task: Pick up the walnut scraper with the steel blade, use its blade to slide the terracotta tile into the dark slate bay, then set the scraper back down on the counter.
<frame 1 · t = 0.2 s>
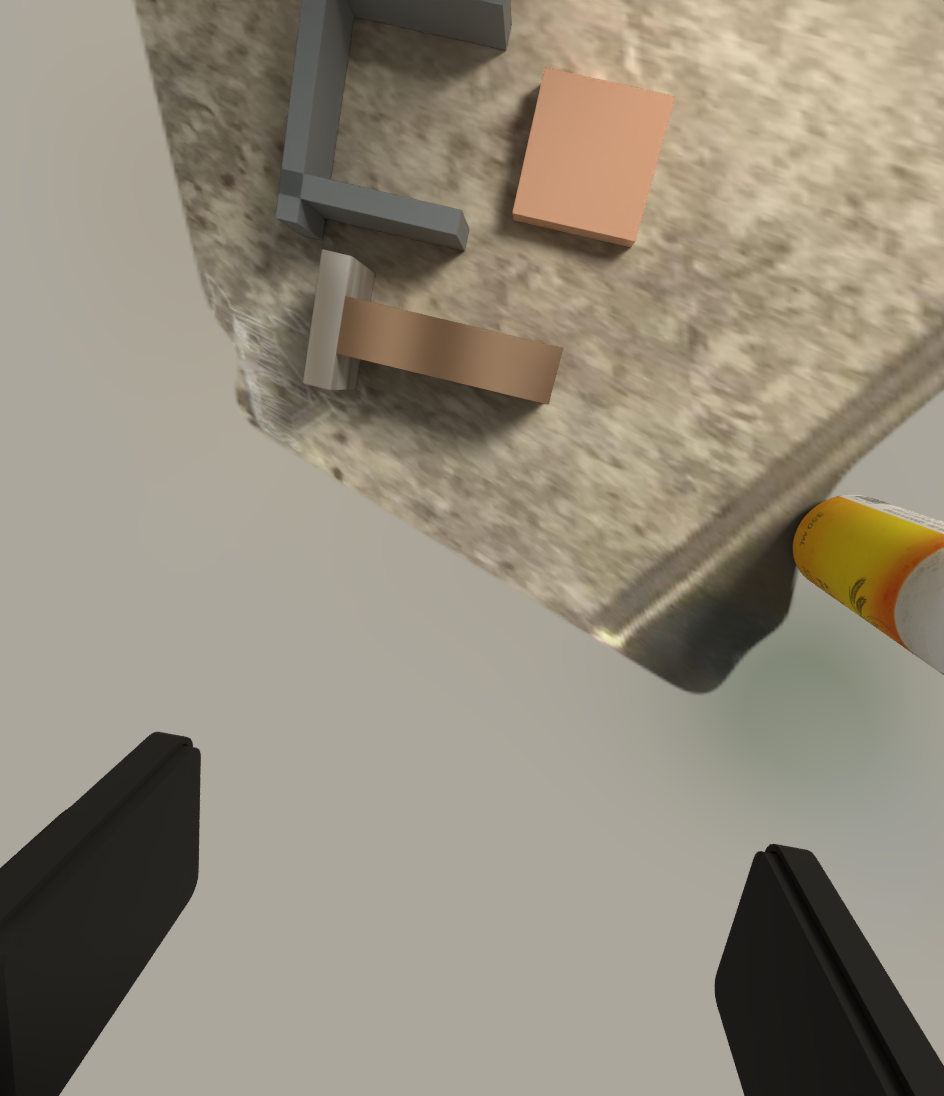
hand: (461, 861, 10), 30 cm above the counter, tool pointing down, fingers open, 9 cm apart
bay: (400, 123, 34), on the counter
scraper: (458, 355, 37), on the counter
beer can: (836, 538, 38), on the counter
tile: (588, 169, 34), on the counter
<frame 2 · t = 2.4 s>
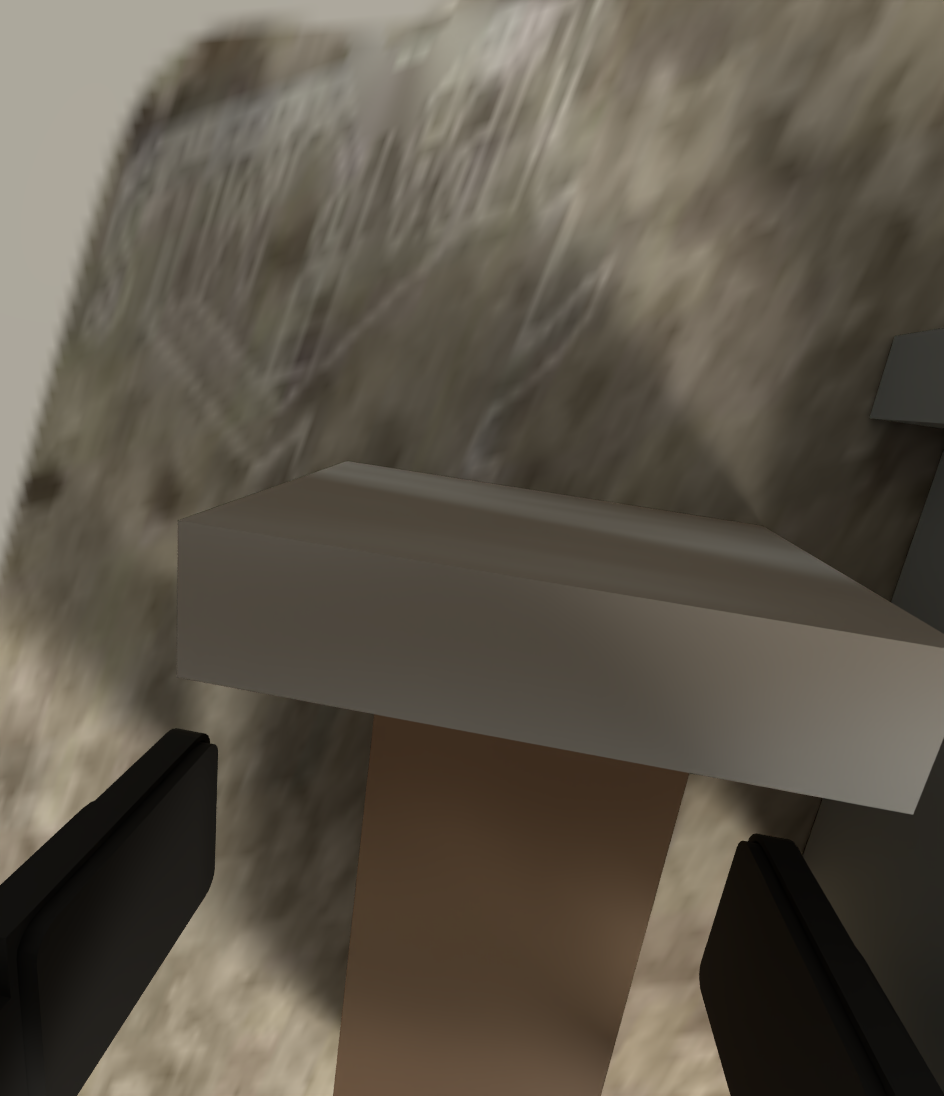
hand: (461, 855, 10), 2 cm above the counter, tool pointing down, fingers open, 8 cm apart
scraper: (484, 860, 12), on the counter
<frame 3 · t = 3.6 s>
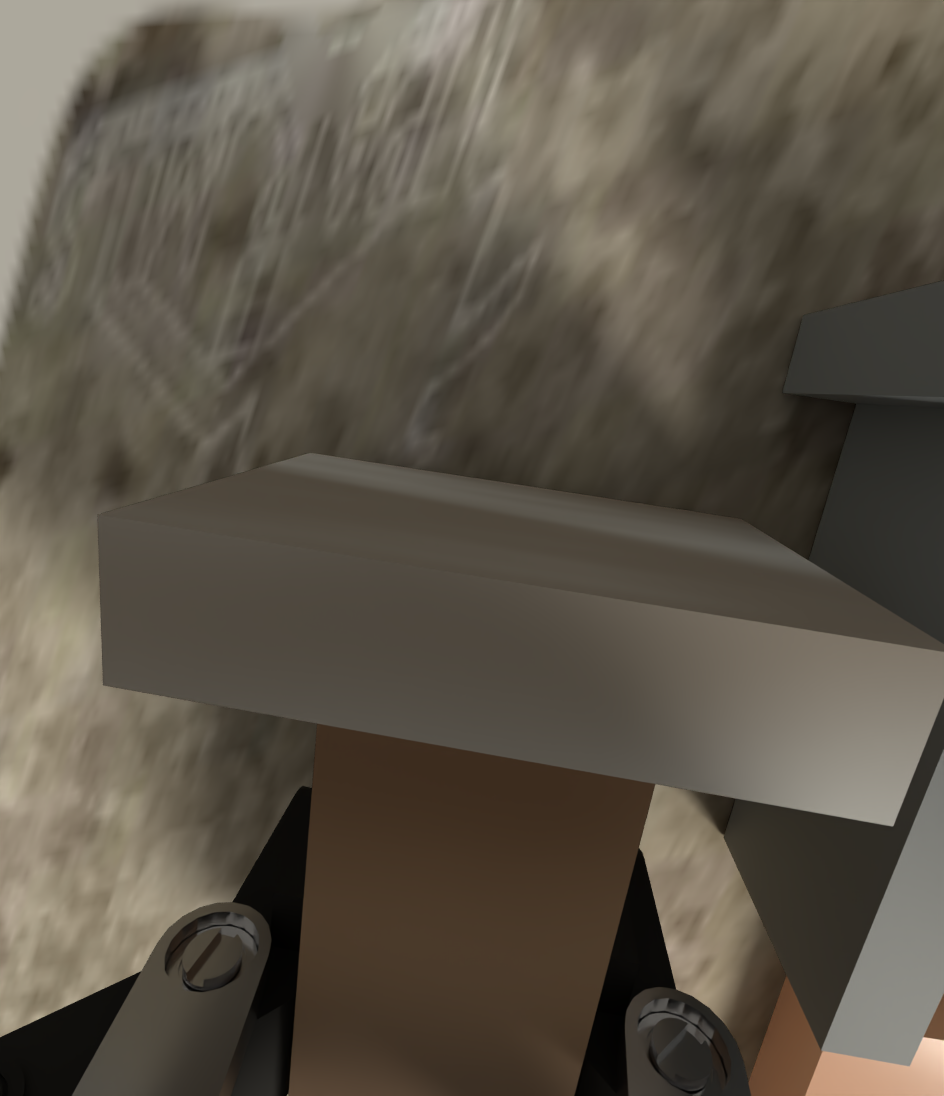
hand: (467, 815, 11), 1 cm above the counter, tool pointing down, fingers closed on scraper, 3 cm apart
scraper: (459, 866, 12), point 1 cm above the counter, touching gripper
tile: (897, 1070, 14), on the counter
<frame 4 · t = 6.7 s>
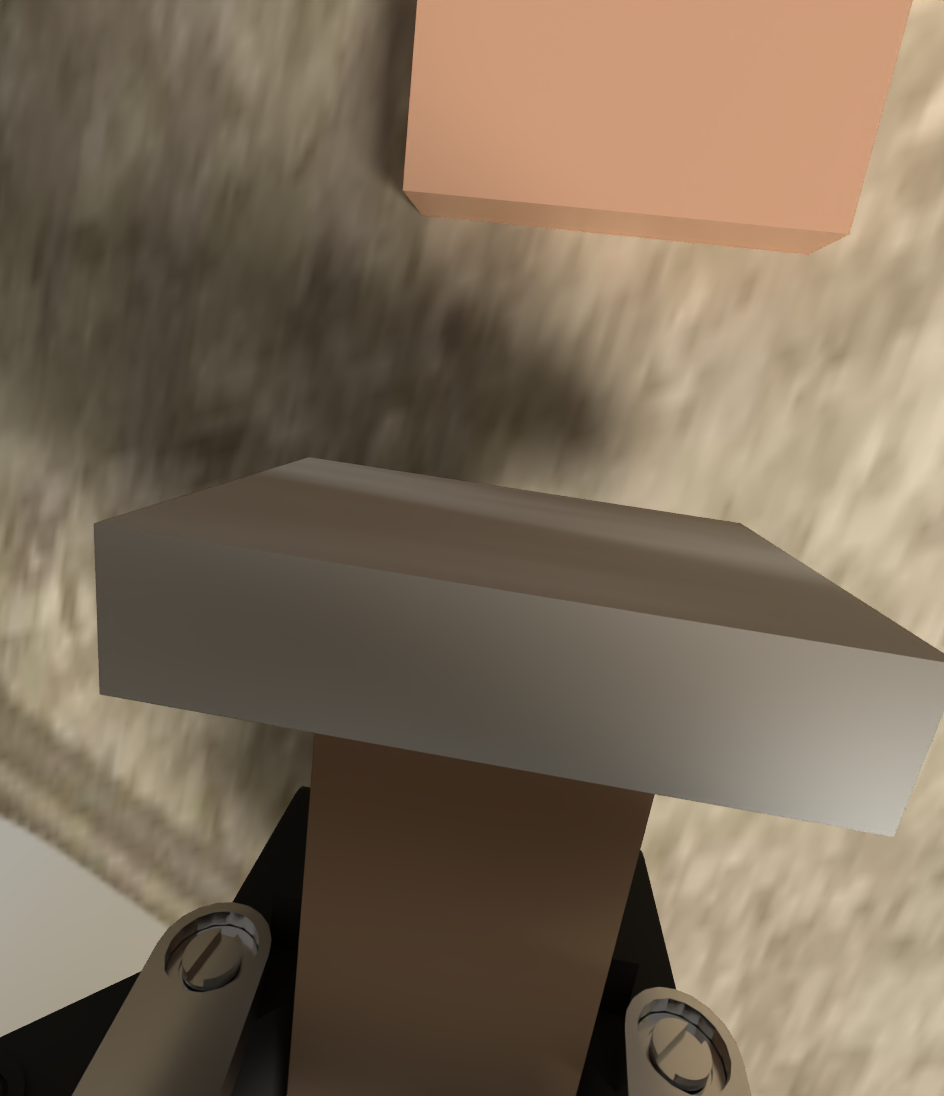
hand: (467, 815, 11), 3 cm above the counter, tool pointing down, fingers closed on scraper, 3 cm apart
scraper: (458, 871, 12), point 3 cm above the counter, touching gripper
tile: (644, 18, 10), on the counter
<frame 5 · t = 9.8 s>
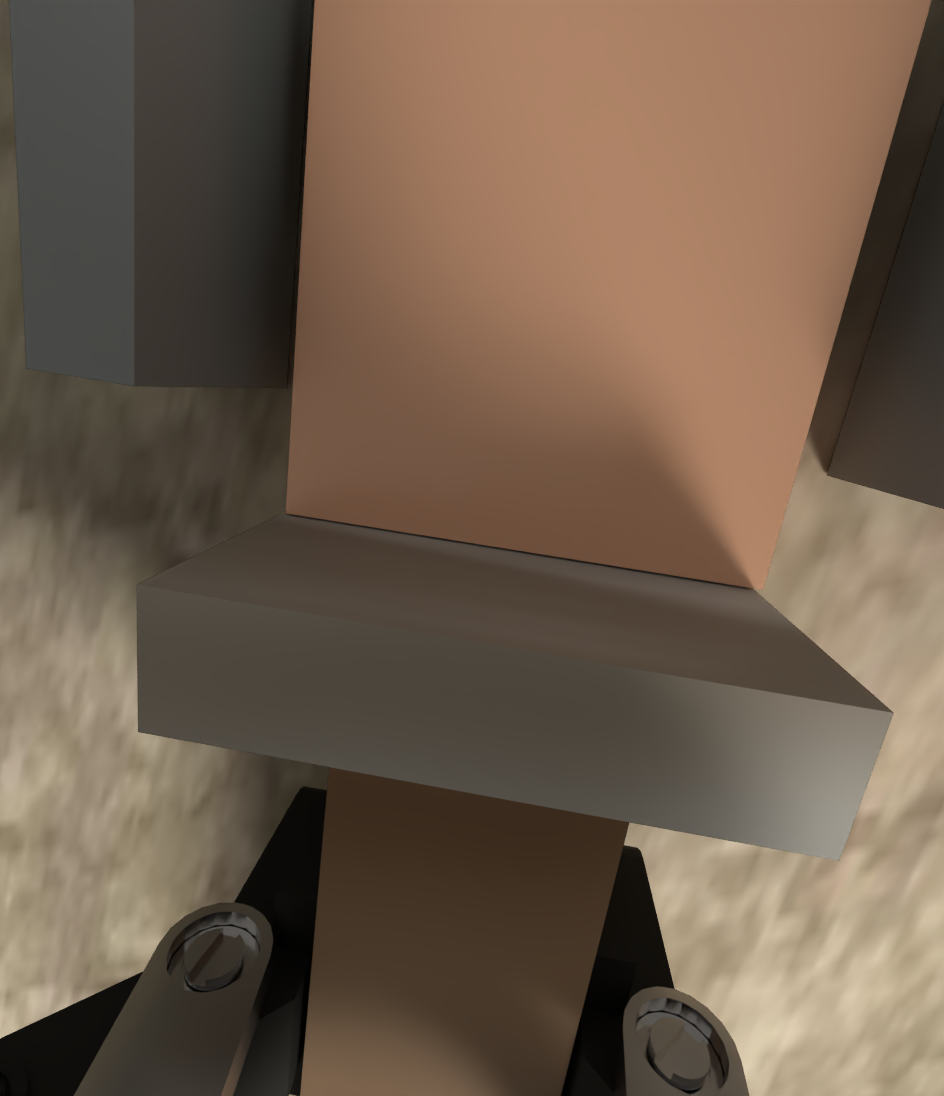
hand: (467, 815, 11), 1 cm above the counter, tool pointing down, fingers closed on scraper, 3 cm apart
bay: (616, 70, 8), on the counter
scraper: (456, 882, 12), on the counter, touching gripper
tile: (555, 312, 10), on the counter
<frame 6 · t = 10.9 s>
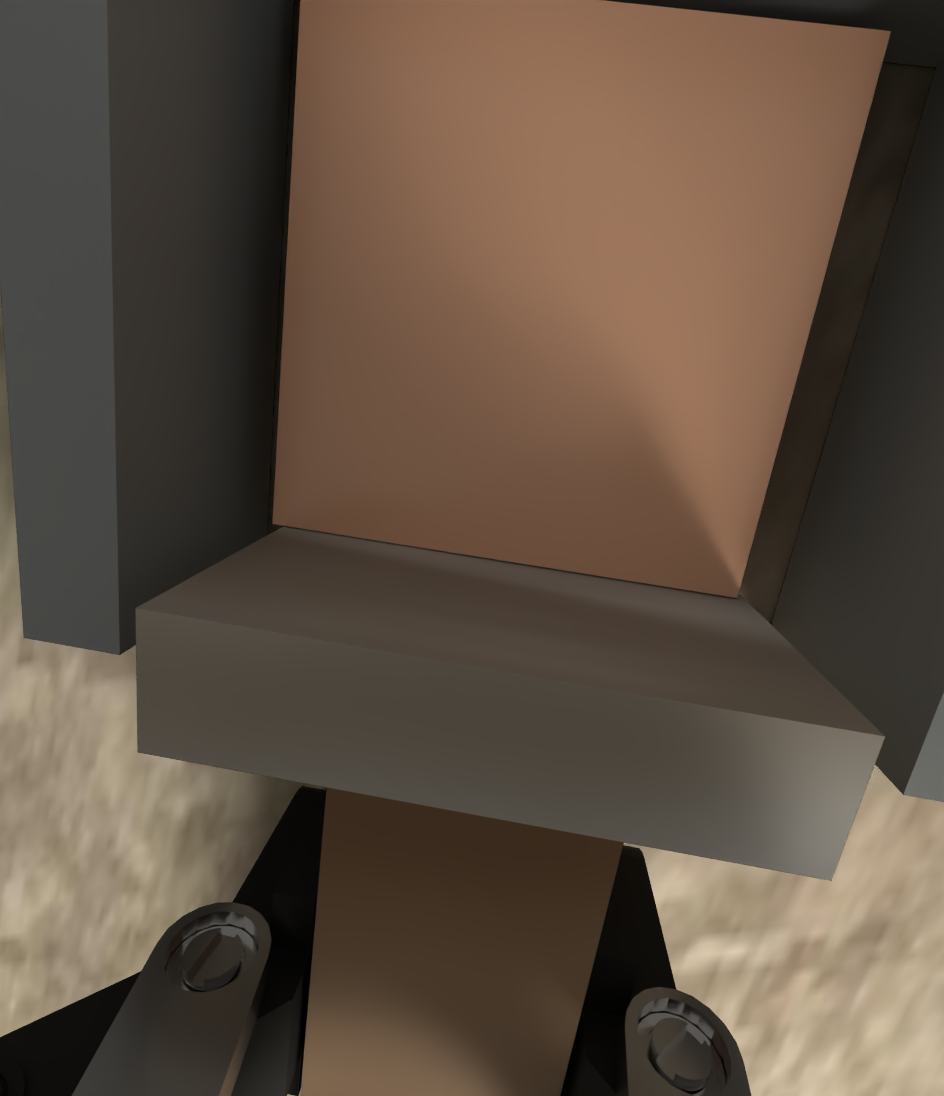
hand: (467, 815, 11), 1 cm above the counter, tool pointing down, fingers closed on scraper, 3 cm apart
bay: (560, 297, 9), on the counter
scraper: (455, 890, 12), on the counter, touching gripper
tile: (537, 327, 10), on the counter
when the fingers open (2 cm above the counter, at t = 16.0 s): scraper stays where it is, on the counter.
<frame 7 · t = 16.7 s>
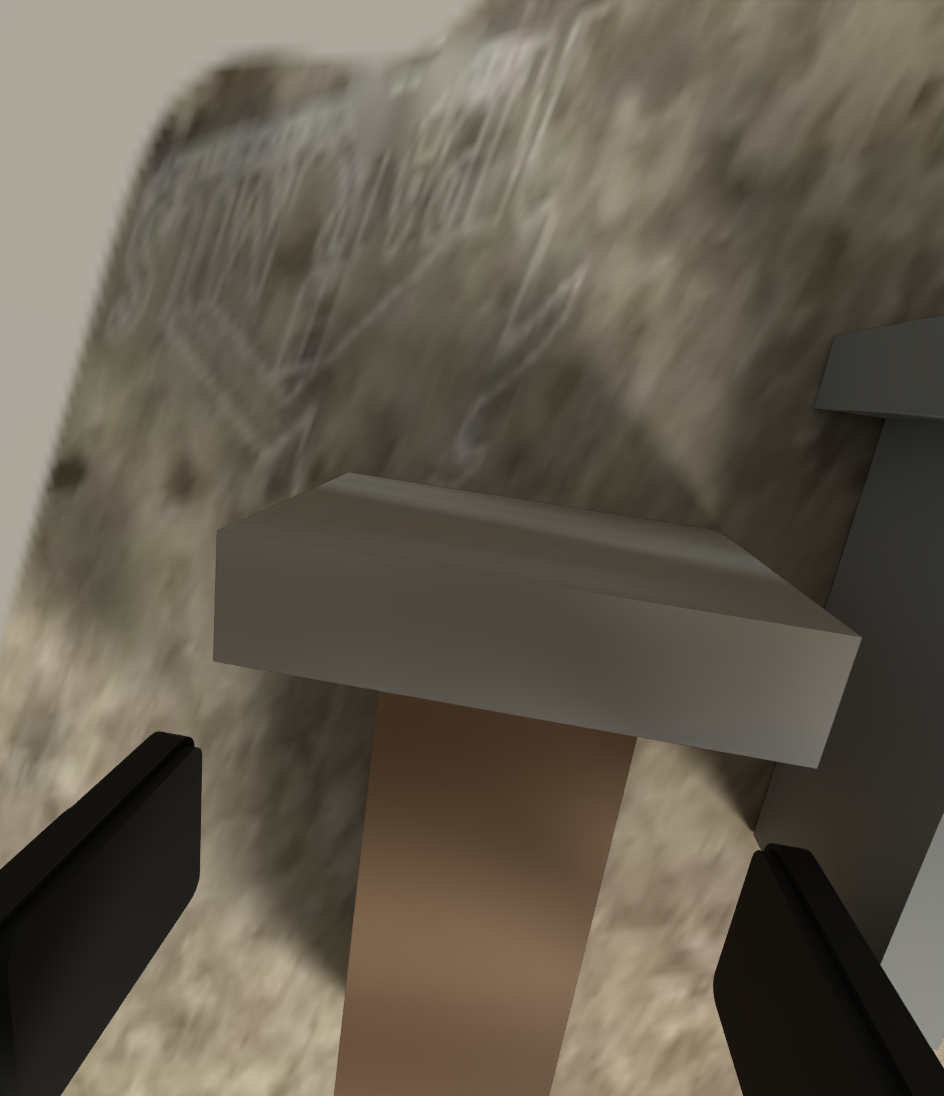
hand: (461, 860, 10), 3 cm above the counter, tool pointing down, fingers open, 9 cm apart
scraper: (473, 833, 13), on the counter
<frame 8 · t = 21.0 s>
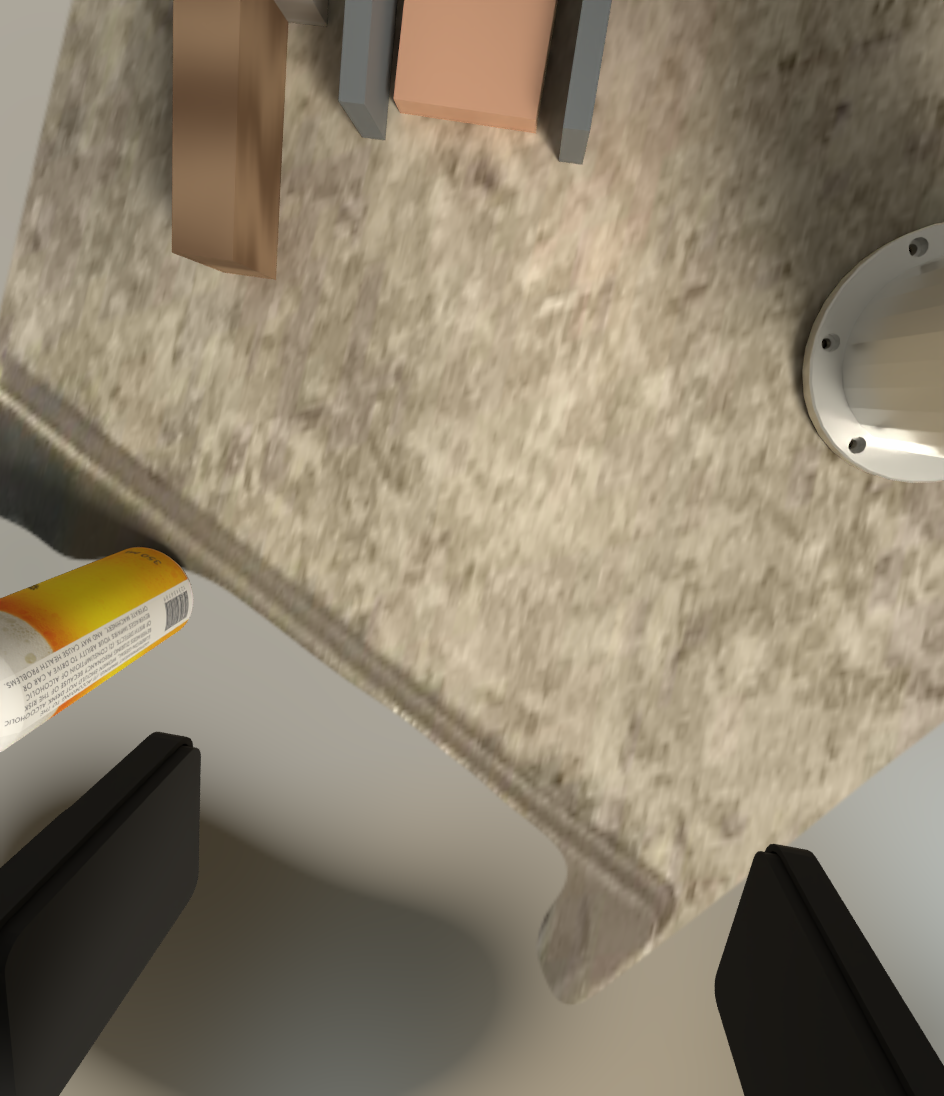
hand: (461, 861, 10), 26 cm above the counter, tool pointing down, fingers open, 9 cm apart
bay: (485, 32, 29), on the counter
scraper: (254, 154, 31), on the counter
beer can: (157, 588, 39), on the counter
tile: (479, 46, 30), on the counter
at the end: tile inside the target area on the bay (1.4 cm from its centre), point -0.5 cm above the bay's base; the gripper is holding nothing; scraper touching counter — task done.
